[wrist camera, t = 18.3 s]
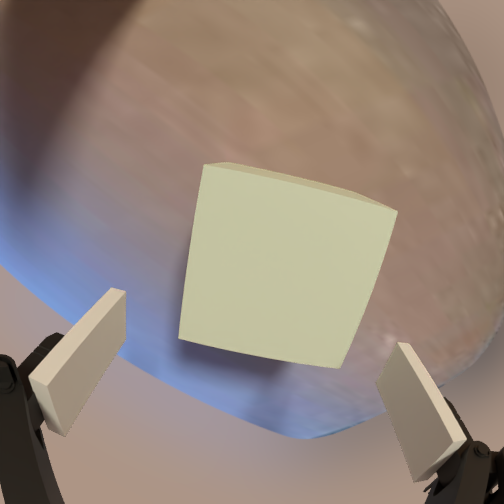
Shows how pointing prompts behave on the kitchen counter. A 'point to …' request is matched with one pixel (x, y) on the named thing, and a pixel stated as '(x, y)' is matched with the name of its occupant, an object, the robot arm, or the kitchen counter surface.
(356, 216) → the pale green cube
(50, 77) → the kitchen counter surface
